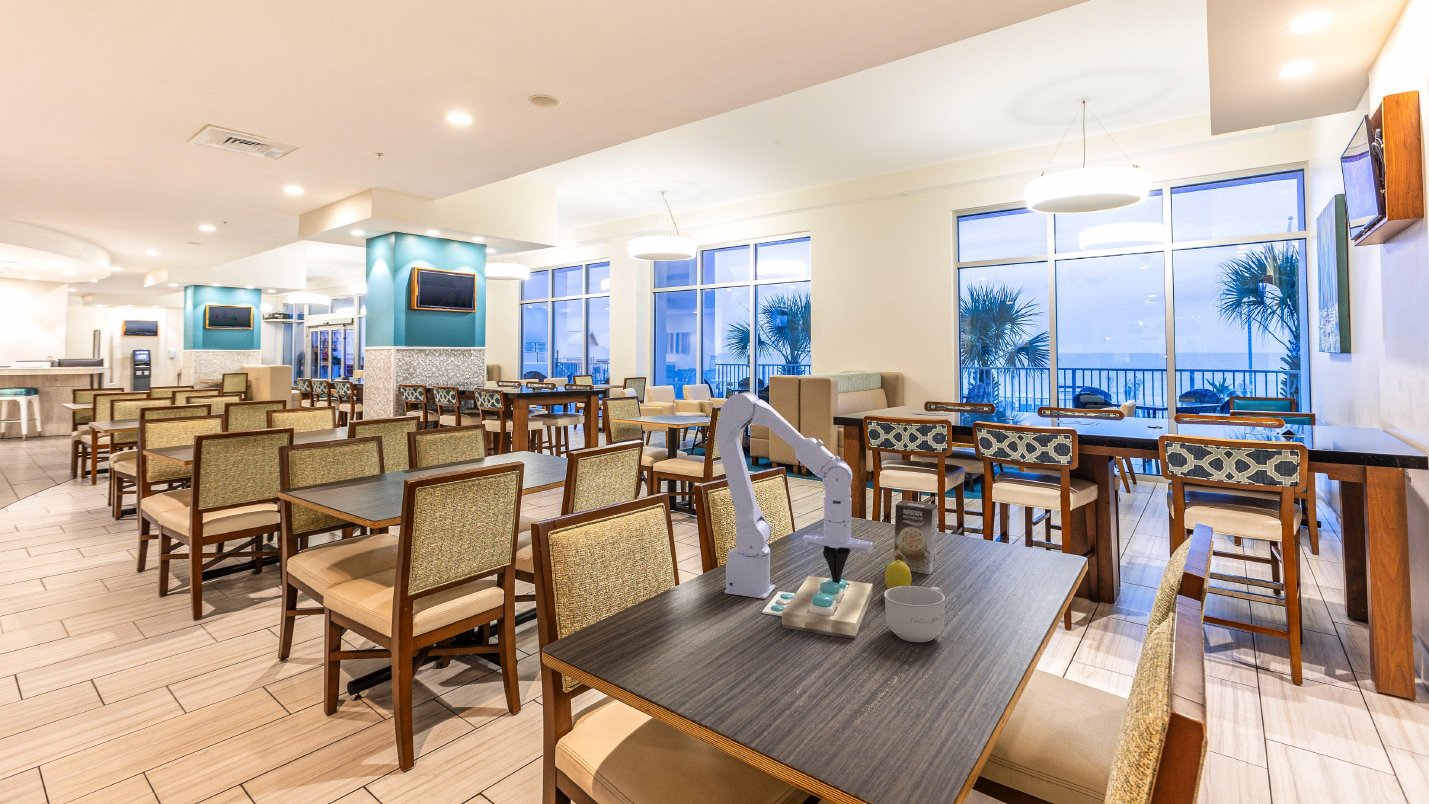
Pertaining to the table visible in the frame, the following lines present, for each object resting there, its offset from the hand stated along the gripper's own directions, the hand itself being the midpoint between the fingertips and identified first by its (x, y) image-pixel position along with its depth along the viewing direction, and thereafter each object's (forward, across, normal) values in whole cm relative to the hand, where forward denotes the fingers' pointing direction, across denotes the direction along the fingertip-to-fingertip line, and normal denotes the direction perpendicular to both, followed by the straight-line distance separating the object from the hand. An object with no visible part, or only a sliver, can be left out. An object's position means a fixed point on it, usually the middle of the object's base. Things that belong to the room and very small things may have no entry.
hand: (836, 581), depth 135 cm
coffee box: (+4, +14, +28) cm, 32 cm away
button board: (+4, 0, -7) cm, 8 cm away
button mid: (+1, 0, -7) cm, 7 cm away
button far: (+3, 0, 0) cm, 3 cm away
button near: (+2, 0, -14) cm, 14 cm away
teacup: (+4, +18, -11) cm, 21 cm away
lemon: (+4, +12, +7) cm, 14 cm away
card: (+4, -10, -7) cm, 13 cm away
